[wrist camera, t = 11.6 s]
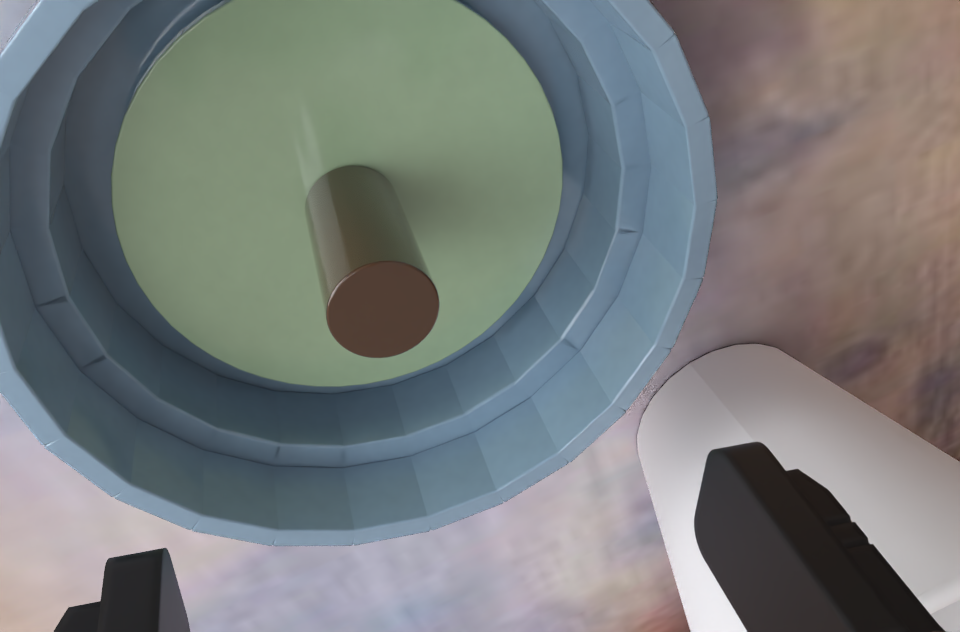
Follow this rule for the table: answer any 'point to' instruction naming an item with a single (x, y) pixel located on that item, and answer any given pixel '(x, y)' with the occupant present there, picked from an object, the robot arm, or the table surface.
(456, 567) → the table surface
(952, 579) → the cup
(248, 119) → the lid
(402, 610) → the table surface
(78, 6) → the bowl
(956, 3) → the table surface
